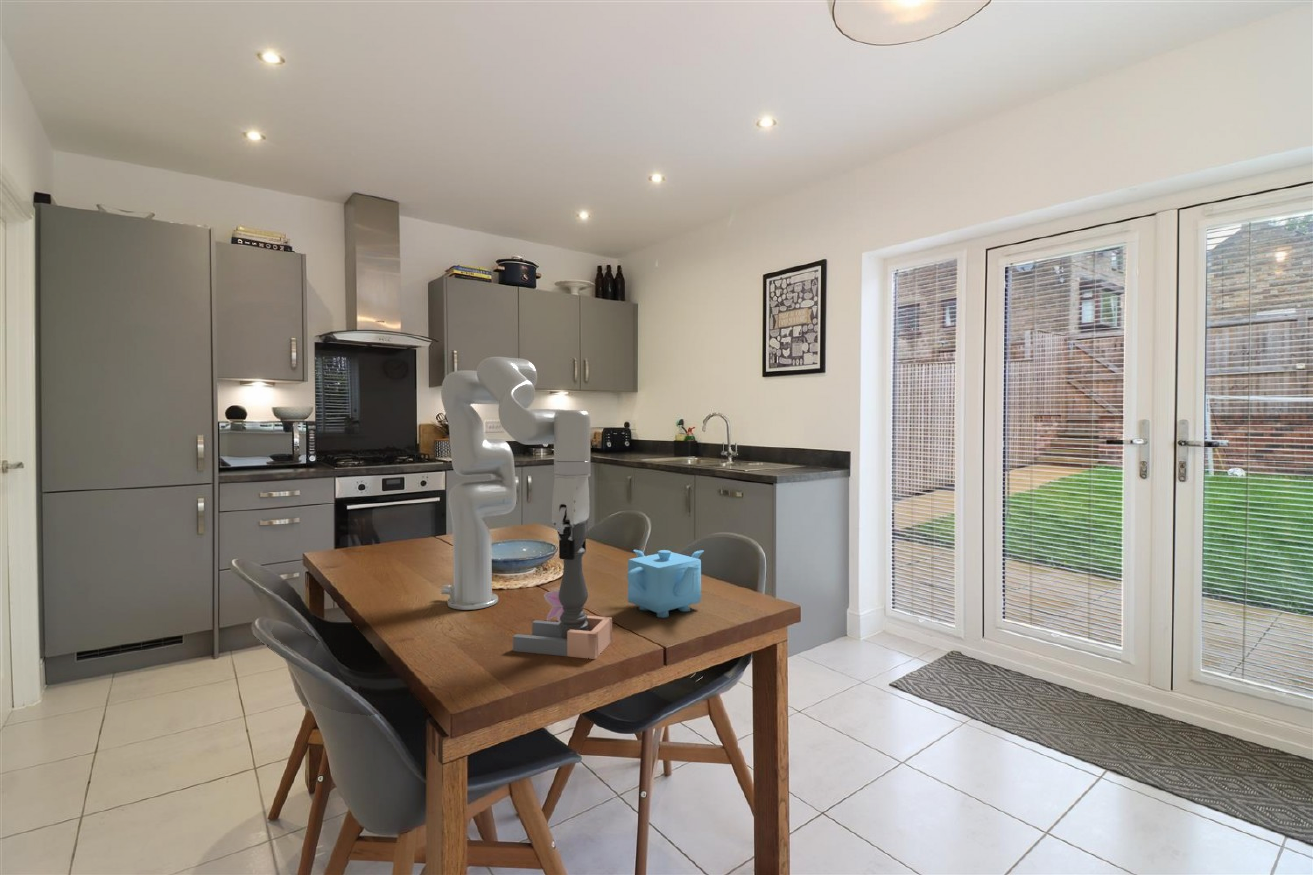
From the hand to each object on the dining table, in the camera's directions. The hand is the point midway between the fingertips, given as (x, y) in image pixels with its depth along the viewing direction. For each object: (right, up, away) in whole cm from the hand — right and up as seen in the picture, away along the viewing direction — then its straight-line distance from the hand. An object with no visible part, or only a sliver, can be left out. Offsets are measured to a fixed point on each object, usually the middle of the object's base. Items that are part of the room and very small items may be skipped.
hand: (572, 554), depth 128 cm
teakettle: (+20, -19, +26) cm, 38 cm away
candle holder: (0, -18, +1) cm, 18 cm away
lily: (-4, -19, +18) cm, 27 cm away
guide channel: (-2, -19, +1) cm, 19 cm away
